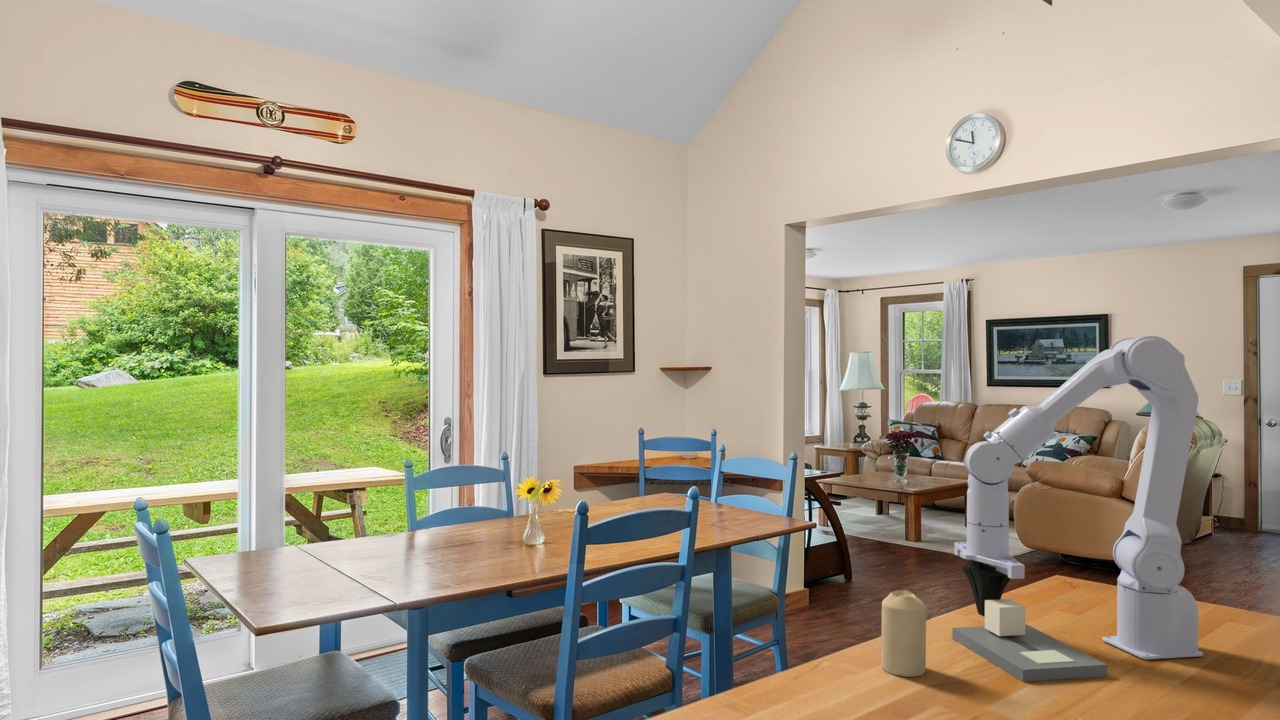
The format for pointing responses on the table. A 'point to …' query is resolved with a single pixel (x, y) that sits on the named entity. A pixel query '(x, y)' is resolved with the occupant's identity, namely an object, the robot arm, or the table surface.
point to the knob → (1005, 617)
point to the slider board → (1030, 654)
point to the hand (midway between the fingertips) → (986, 615)
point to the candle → (903, 634)
